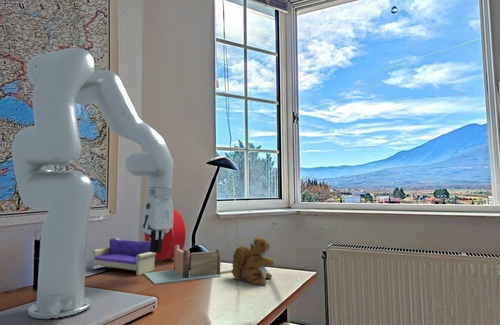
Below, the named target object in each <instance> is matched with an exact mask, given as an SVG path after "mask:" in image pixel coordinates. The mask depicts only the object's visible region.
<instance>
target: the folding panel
mask: <svg viewBox="0 0 500 325" xmlns="http://www.w3.org/2000/svg"><path fill="white" fill-rule="evenodd" d="M173 270H176V271H177V272H179V273H180V274H181V275H182V276H183V250H181V249H179V245H175V247H174V258H173Z"/></svg>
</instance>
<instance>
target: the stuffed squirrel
mask: <svg viewBox="0 0 500 325" xmlns="http://www.w3.org/2000/svg"><path fill="white" fill-rule="evenodd" d="M249 241H250V248H249V247H247V246H238V247H237V248H236V249H235V250H234V253H233V255H232V259H233V261H232V264H231V266H232V269H231V275H232V276H233V277H234V278H235V279H236V281H237V280H239V281H246V282H247V283H249V284H252V285H256V284H257V285H256V286H266V285H267V281H266V280H267V279H266V278H270V277H272V278H273V275H272V274H271V273H269V272H267V269H266V268H268V267H273V266H274V265H275V261H274V260H273V259H272V258H270V257H266V256H265V254H268V253H269V251H270V249H271V248H270V246H271V245H270V242H269V241H267V240H266V239H265V238H262V237H260V236H259V237H255V238H251V239H250V240H249Z"/></svg>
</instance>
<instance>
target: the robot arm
mask: <svg viewBox="0 0 500 325" xmlns="http://www.w3.org/2000/svg"><path fill="white" fill-rule="evenodd" d="M26 74H27V76H28V79H29V80H30V82H31V83H32V84H33V85H34V86H35V87H34V90H33V94H32V100H31V101H32V102H31V103H32V112H33V121H34V122H33V124H34V125H33V126H28V127H24V128H23V129H21V130H19V131H18V132H17V133H16V134H15V136H14V138H13V140H12V145H11V158H12V164H13V165H12V166H13V170H14V175H15V181H16V186H17V190H18V195H19V197H20V200H21V201H22V203H23V204H24V205H25V206H26V207H27V208H30V209H31V210H35V211H41V212H42V211H44V212H45V211H47V212H48V213H47V215H46V217H45V219H44V220H43V222H42V227H41V232H40V239H39V240H40V243H39V260H38V261H39V262H38V274H37V275H38V277H37V294H36V302H35V303H33V304H31V305H30V306H29V307H28V309H27V315H28V316H29V317H31V318H34V319H38V320H39V319H42V320H51V319H50V318H55V319H59V318H58V317H63V316H67V315H71V314H75V313H78V312H81V311H83V310H85V309H86V308H88V307H89V306H90V305H91V306H92V301H91V299H89V298H88V297H85V284H86V280H85V279H86V264H87V263H86V262H87V248H88V247H87V244H88V243H87V242H88V229H89V228H88V226H89V217H90V212H91V209H92V204H93V200H94V196H95V187H94V183H93V182H92V179H90V177H89V176H88V175H86V174H84V173H82V172H80V171H77V170H55V166H56V167H57V166H66V165H71V164H74V163H75V162H77V160H78V159H79V158H80V155H81V152H82V146H81V145H82V144H81V138H80V130H79V125H78V118H77V109H76V104H78V105H83V106H84V105H85V106H86V105H87V106H88V105H96V106H97V109H98V110H99V111H100V113H101V115H102V117H103V119H104V121H105V123H106V125H107V126H108V128H109V130H110V131H111V132H112V133H113V134H115V135H117V136H119V137H121V138H123V139H126V140H130V141H132V142H134V143H136V144H138V146H139V145H140V146H141V147H142V148H143V149H145V151H138V152H133V153H131V154H129V155H128V156H127V158H126V159H125V163H124V164H125V169H126V171H127V172H128V173H129V174H130V175H132V176H135V177H148V179H147V190H146V199H145V202H144V206H143V207H144V208H143V214H142V228H143V234H144V235H145V234H147V235H149V239H151V243H150V252H153V253H160V252H161V248H162V240H161V239H163V238H164V235H165V234H166V233H168V232H169V229H171V228H172V227H173V209H174V203H173V198H172V191H173V190H172V189H173V172H174V159H173V158H172V155H171V153H170V150H169V148H168V146H167V144H166V142H165V140H164V138H163V137H162V136H161V135H160V134H159V133H158V131H157V130H155V129H154V128H152V127H151V126H150V125H149V124H147V123H146V122H145V121H144V120H143V119H141V118H140V117H139V116H138V113H137V111H136V109H135V106H134V105H133V103H132V101H131V99H130V97H129V94H128V93H127V91H126V89H125V86H124V84H123V83H122V80H121V78H120V76H119V75H118V74H116V73H115V72H114V71H112V70H106V69H105V70H104V69H103V70H102V69H101V70H95V60H94V58H93V56H92V55H91V53H90V52H89V51H87V50H86V49H84V48H81V47H80V48H79V47H69V48H64V49H59V50H54V51H50V52H46V53H41V54H38V55H35V56H33V57H31V59H30V60H29V61H28V63H27V64H26ZM91 306H90V307H91ZM63 318H64V317H63Z"/></svg>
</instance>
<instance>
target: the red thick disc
mask: <svg viewBox="0 0 500 325" xmlns="http://www.w3.org/2000/svg"><path fill="white" fill-rule="evenodd" d="M186 234H187V232H186V225H185V221H184V218H183V217H182V215H181V214H180V212H179V211H178V210H177V209H176V208H173V227H172V228H171V229H169V232H168V233H166V234H165V235H164V238H163V239H161V240H162V248H161V252H160V253H156V255H155V259H158V260H161V261H165V260H166V259H167V260H171V259H172V258H173V259H174V247H175V245H179V249H181V250H183V249H184V247H185V244H186V243H185V242H186V236H187V235H186ZM144 241H151V239H149V235H147V234H144ZM158 260H157V261H158Z"/></svg>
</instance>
